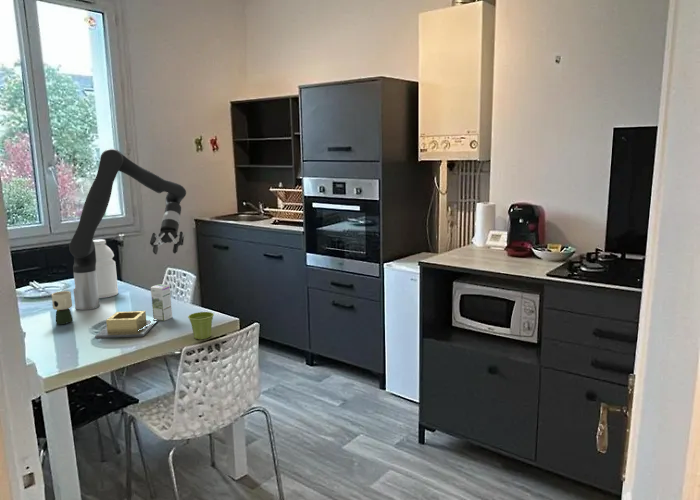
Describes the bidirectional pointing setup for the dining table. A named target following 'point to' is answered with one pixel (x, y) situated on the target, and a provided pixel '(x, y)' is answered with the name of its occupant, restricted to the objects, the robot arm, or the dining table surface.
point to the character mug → (62, 306)
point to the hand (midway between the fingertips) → (164, 253)
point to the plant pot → (201, 324)
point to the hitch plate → (125, 325)
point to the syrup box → (161, 302)
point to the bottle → (105, 270)
